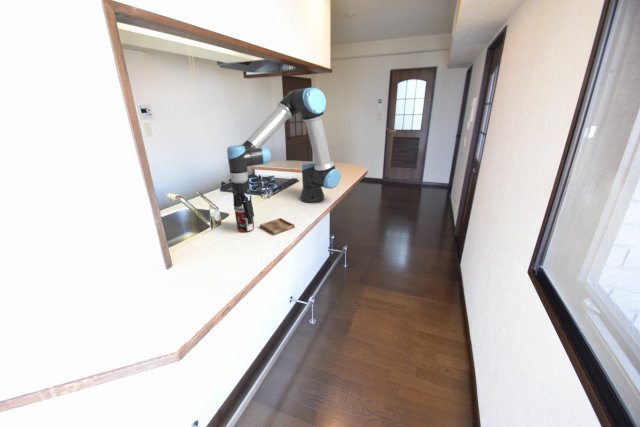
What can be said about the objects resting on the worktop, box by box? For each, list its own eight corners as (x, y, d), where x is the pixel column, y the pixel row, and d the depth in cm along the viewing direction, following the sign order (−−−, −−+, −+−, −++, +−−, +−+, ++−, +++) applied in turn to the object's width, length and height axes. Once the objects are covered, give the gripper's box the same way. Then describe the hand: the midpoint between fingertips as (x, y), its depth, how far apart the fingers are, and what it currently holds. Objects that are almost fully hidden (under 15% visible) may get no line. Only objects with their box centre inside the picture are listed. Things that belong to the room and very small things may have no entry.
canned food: (234, 231, 130) (231, 209, 126) (245, 225, 136) (243, 204, 132) (246, 234, 127) (243, 212, 123) (257, 227, 133) (255, 206, 129)
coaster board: (280, 220, 141) (280, 218, 140) (294, 227, 132) (294, 224, 132) (260, 227, 133) (259, 224, 133) (273, 235, 125) (273, 232, 124)
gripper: (222, 178, 127) (228, 223, 136) (243, 187, 113) (249, 236, 122) (237, 175, 132) (242, 219, 140) (259, 183, 118) (263, 231, 126)
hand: (245, 227), depth 131 cm, fingers closed on canned food, 8 cm apart
